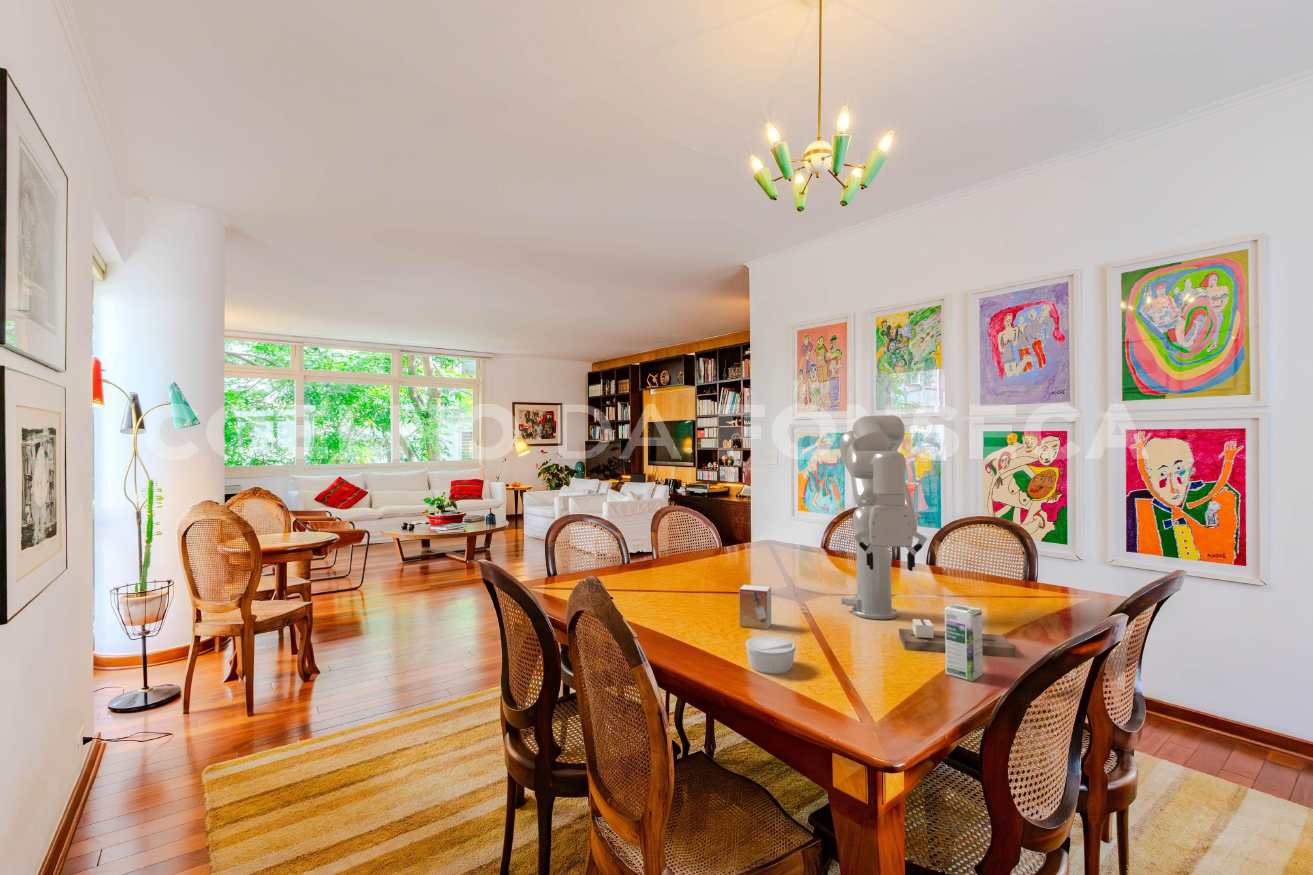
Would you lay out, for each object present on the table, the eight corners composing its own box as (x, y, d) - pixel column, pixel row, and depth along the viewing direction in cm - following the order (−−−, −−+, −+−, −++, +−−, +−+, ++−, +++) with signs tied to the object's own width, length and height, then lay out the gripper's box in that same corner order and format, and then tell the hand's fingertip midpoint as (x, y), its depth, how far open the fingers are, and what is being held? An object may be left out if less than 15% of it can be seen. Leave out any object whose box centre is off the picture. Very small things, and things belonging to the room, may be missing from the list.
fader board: (904, 649, 146) (904, 640, 146) (898, 636, 156) (898, 628, 156) (1015, 656, 140) (1014, 647, 140) (1001, 642, 150) (1001, 634, 150)
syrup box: (944, 674, 130) (943, 607, 130) (956, 667, 134) (955, 602, 134) (972, 682, 126) (970, 612, 126) (983, 674, 130) (982, 607, 130)
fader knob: (916, 636, 148) (915, 624, 148) (912, 630, 152) (912, 618, 152) (933, 638, 147) (933, 625, 147) (929, 631, 151) (929, 619, 151)
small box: (738, 626, 166) (738, 588, 166) (743, 620, 171) (743, 583, 171) (767, 629, 163) (767, 590, 163) (771, 623, 168) (771, 586, 168)
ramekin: (785, 680, 128) (785, 655, 128) (737, 670, 134) (737, 646, 134) (802, 663, 138) (802, 640, 138) (757, 654, 144) (756, 632, 144)
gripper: (854, 501, 150) (855, 571, 150) (929, 502, 146) (930, 573, 146) (852, 499, 157) (853, 565, 157) (923, 499, 153) (924, 567, 153)
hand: (890, 569), depth 151 cm, fingers open, 8 cm apart
